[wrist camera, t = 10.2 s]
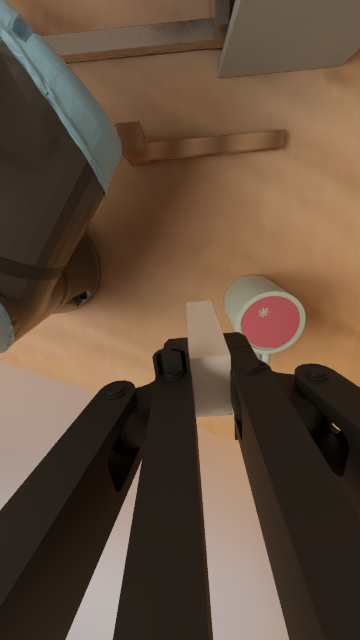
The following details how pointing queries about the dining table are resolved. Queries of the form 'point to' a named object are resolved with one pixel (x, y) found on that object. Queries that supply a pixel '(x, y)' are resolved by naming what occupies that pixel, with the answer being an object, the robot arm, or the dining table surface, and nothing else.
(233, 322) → the mug
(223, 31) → the wood-tipped metal rod
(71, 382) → the dining table surface
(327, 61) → the shelf cubby
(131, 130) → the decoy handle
